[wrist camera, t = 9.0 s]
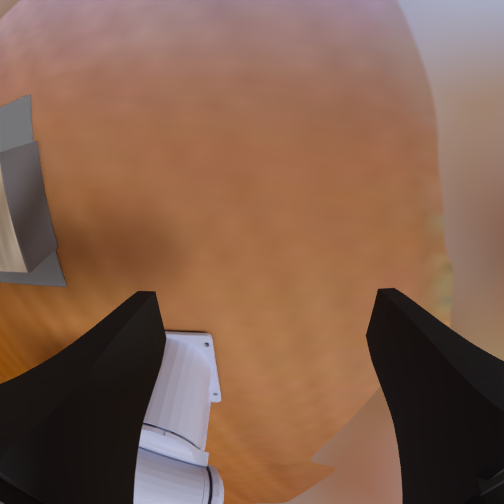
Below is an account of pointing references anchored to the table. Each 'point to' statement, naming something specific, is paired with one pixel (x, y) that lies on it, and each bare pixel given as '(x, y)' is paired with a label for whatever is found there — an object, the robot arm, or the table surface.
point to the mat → (7, 137)
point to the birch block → (23, 211)
